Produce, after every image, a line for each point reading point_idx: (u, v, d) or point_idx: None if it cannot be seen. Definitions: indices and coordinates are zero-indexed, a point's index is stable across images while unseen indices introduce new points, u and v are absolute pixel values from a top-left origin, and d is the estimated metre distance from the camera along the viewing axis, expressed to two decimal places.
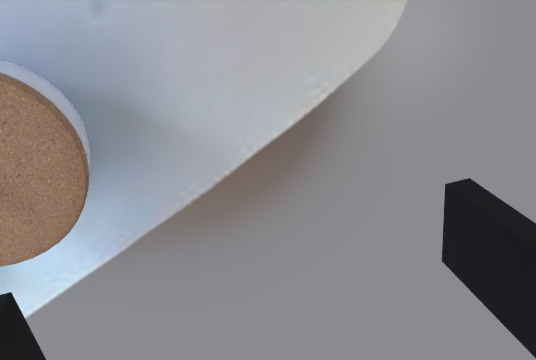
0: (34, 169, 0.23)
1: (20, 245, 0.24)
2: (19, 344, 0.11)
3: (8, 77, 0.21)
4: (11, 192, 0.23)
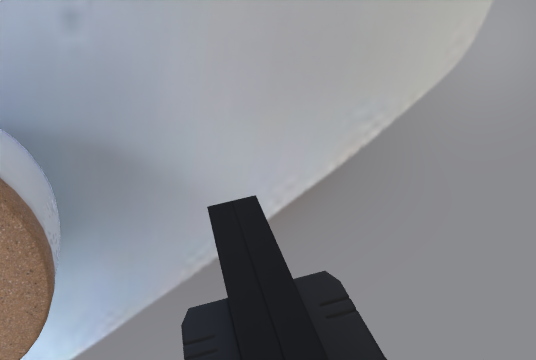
0: None
1: None
2: None
3: None
4: None
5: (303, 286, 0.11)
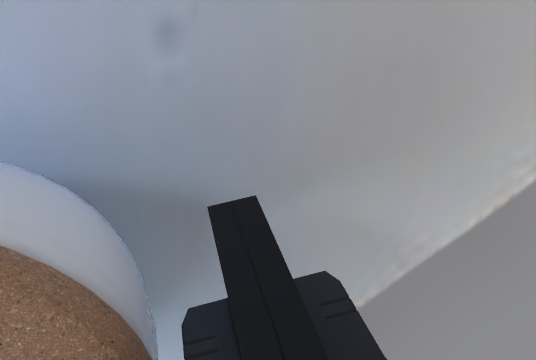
0: None
1: None
2: None
3: None
4: None
5: (303, 286, 0.11)
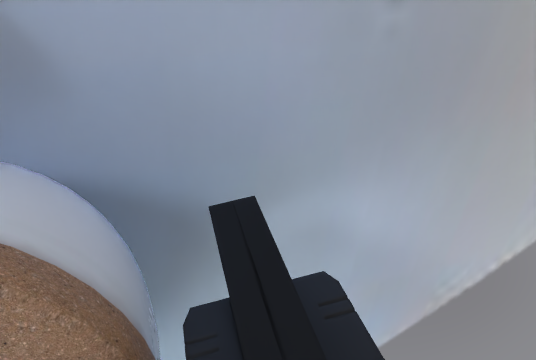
0: None
1: None
2: None
3: None
4: None
5: (302, 286, 0.11)
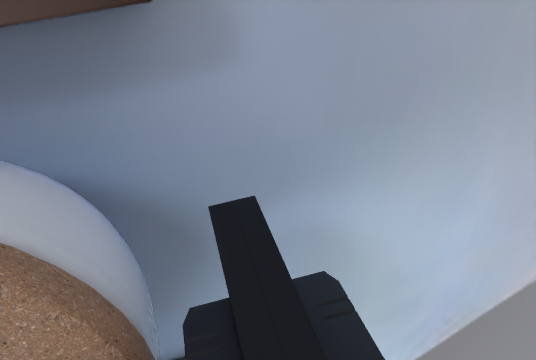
0: None
1: None
2: None
3: None
4: None
5: (302, 286, 0.11)
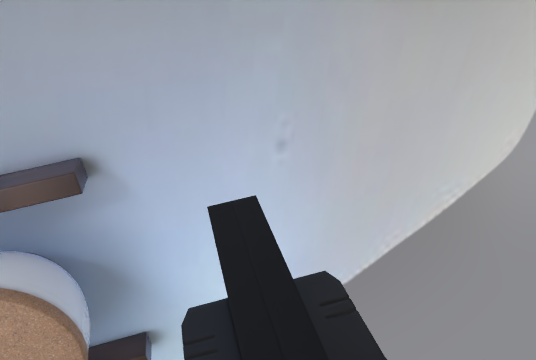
0: None
1: None
2: None
3: (18, 294, 0.25)
4: None
5: (303, 286, 0.11)
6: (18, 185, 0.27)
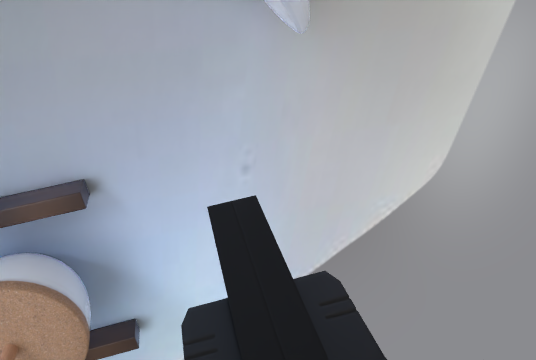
0: (53, 340, 0.34)
1: None
2: None
3: (38, 286, 0.33)
4: (38, 354, 0.34)
5: (303, 286, 0.11)
6: (36, 202, 0.35)
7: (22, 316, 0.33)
